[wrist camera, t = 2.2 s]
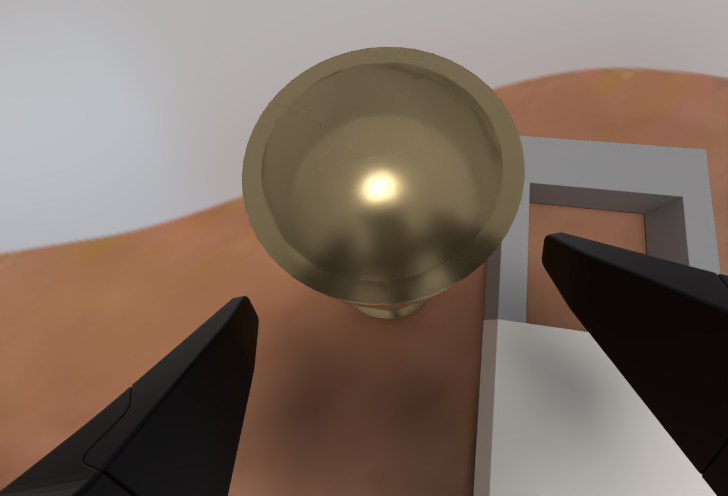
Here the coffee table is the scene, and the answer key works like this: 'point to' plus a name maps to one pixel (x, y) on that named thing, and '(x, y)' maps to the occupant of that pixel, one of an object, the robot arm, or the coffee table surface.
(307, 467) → the coffee table surface
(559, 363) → the grey holder base
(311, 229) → the brass fitting
